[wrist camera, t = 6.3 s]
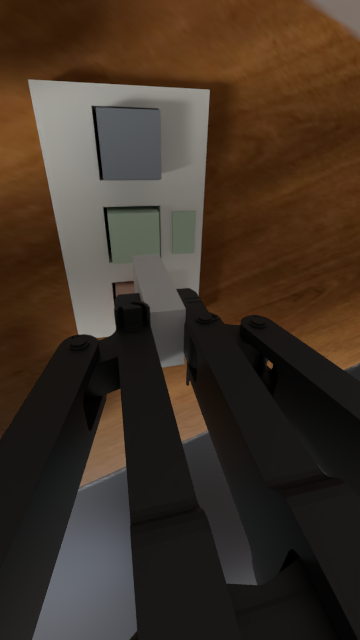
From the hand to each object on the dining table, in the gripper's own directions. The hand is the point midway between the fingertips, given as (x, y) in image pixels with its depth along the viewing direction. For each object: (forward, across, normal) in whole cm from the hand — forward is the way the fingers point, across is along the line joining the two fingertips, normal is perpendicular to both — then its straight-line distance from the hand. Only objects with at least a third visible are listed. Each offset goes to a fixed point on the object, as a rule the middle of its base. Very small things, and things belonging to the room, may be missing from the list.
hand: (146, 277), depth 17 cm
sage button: (+11, 0, 0) cm, 11 cm away
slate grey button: (+10, 0, -7) cm, 12 cm away
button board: (+12, 0, 0) cm, 12 cm away
